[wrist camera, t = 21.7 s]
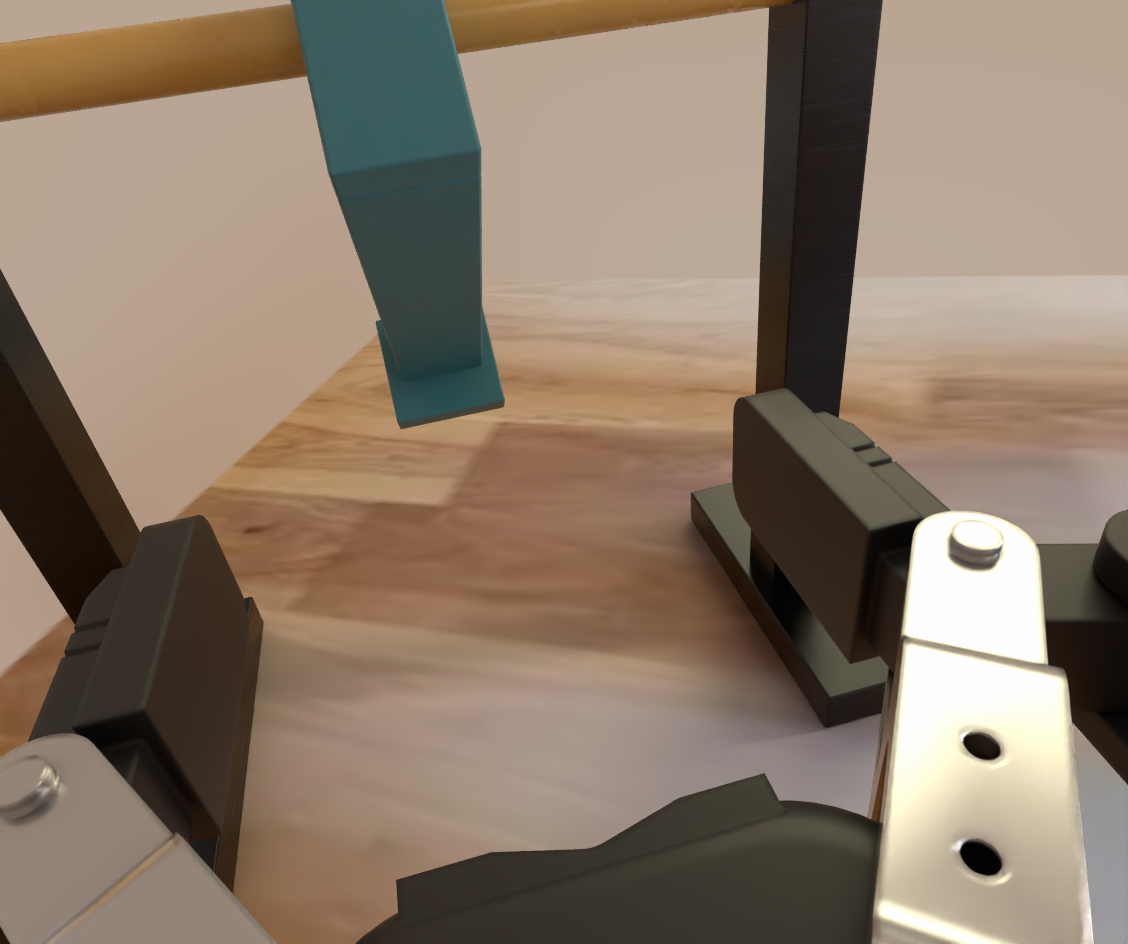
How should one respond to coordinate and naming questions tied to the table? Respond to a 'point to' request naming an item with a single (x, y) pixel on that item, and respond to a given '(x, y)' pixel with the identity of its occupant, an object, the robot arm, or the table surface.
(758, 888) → the robot arm
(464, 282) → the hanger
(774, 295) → the rack
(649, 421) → the table surface
